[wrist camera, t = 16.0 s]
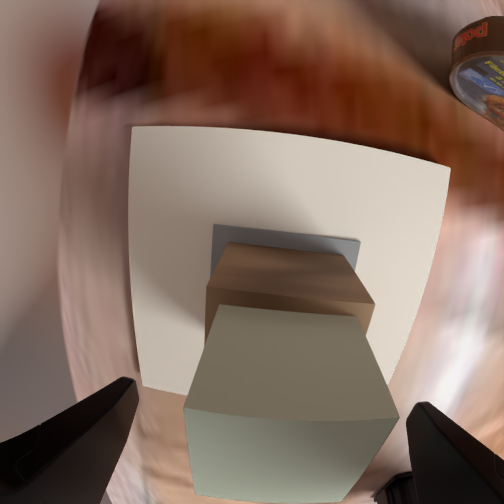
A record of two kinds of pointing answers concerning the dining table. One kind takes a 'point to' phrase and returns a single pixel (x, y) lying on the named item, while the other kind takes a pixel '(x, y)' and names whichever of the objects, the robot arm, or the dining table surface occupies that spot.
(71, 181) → the dining table surface
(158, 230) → the off-white flat square slab
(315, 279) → the walnut block
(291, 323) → the sage block
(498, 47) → the tin
